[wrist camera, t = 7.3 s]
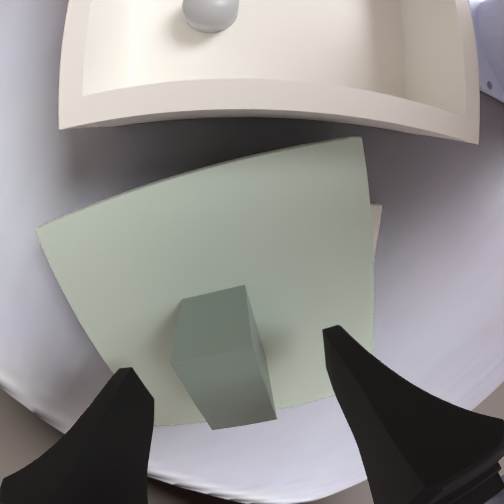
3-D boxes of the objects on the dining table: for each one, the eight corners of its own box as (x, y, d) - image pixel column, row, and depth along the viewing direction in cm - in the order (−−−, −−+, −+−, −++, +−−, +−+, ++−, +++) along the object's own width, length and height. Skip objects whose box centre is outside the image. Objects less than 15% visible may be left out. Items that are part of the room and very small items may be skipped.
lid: (342, 135, 11) (420, 146, 6) (359, 362, 16) (392, 429, 11) (55, 216, 11) (-17, 268, 6) (158, 404, 16) (148, 473, 11)
